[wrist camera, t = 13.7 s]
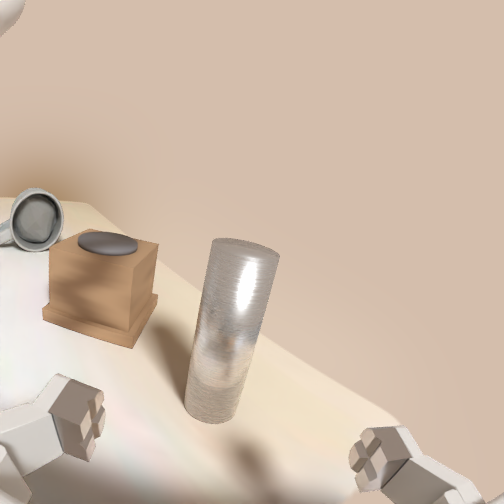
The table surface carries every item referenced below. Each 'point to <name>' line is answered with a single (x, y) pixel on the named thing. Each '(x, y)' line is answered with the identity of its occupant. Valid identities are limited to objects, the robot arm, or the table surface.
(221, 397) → the brushed metal cylinder
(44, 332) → the table surface
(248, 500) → the table surface
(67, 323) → the walnut stand
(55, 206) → the ceramic mug
